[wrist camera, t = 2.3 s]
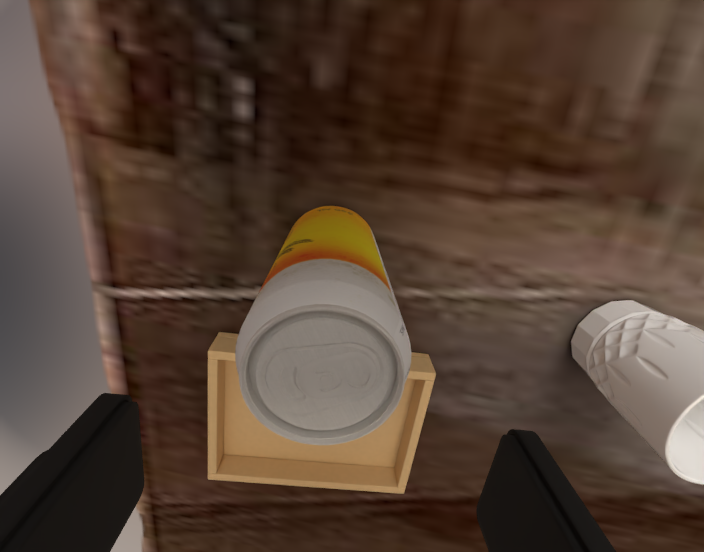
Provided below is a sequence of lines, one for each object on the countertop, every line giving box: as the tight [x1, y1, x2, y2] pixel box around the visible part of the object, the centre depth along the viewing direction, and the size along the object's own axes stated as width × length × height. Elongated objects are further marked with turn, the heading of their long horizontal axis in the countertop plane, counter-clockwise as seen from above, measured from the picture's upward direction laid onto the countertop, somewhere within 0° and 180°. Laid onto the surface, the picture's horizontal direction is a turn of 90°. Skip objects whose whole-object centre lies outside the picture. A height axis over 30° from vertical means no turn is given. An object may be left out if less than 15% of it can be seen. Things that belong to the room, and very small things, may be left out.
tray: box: [208, 332, 436, 494], centre depth 29 cm, size 12×16×3 cm
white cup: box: [571, 300, 704, 485], centre depth 24 cm, size 8×8×10 cm
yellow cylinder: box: [235, 206, 411, 445], centre depth 19 cm, size 6×6×15 cm
